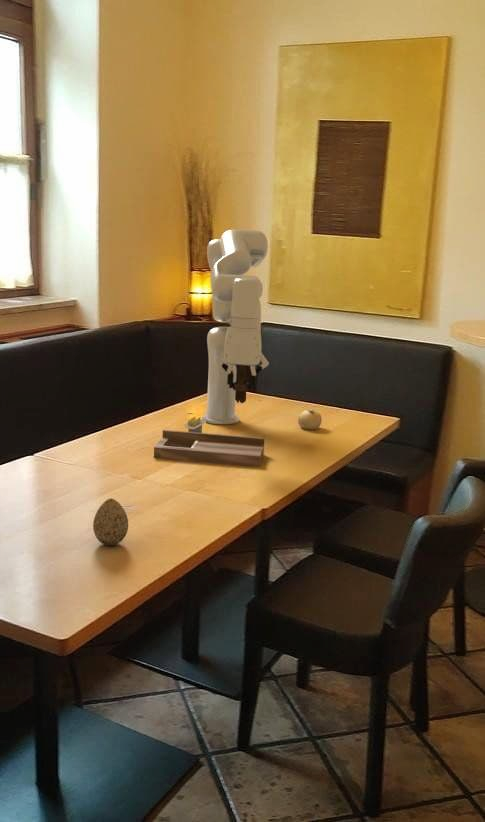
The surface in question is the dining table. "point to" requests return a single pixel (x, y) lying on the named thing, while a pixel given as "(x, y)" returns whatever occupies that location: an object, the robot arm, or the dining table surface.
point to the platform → (195, 425)
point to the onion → (309, 419)
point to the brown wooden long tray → (210, 448)
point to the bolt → (241, 383)
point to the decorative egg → (110, 523)
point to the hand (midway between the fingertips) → (241, 387)
